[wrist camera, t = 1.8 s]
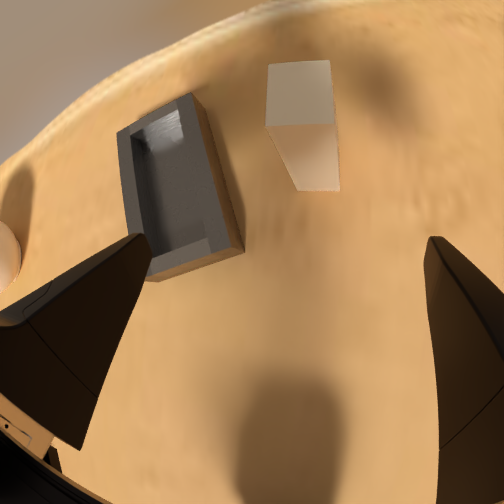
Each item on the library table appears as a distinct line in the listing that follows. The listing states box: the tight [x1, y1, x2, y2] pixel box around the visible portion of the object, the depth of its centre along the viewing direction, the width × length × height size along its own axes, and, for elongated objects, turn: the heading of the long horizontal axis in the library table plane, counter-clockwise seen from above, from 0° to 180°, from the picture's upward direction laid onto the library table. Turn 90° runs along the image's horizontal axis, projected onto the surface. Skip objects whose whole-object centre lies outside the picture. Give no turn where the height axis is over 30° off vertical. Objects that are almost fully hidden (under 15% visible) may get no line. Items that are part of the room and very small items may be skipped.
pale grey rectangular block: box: [265, 60, 340, 191], centre depth 18 cm, size 4×3×10 cm
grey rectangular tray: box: [117, 92, 245, 282], centre depth 25 cm, size 14×8×3 cm, turn 16°
